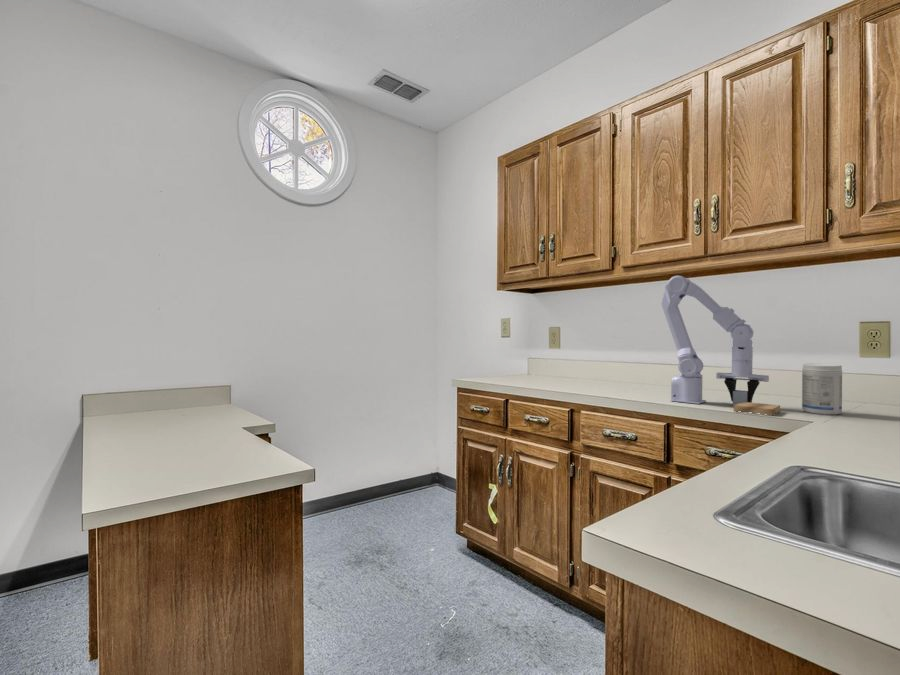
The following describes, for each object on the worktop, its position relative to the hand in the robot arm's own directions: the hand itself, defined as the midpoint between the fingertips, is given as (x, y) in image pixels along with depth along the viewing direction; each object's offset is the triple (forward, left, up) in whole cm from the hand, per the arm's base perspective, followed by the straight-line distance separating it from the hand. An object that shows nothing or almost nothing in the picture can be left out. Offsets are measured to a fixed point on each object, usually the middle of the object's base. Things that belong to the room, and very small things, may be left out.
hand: (741, 402), depth 152 cm
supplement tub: (+20, +5, -2) cm, 21 cm away
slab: (+6, -8, -1) cm, 10 cm away
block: (0, 0, -1) cm, 1 cm away
